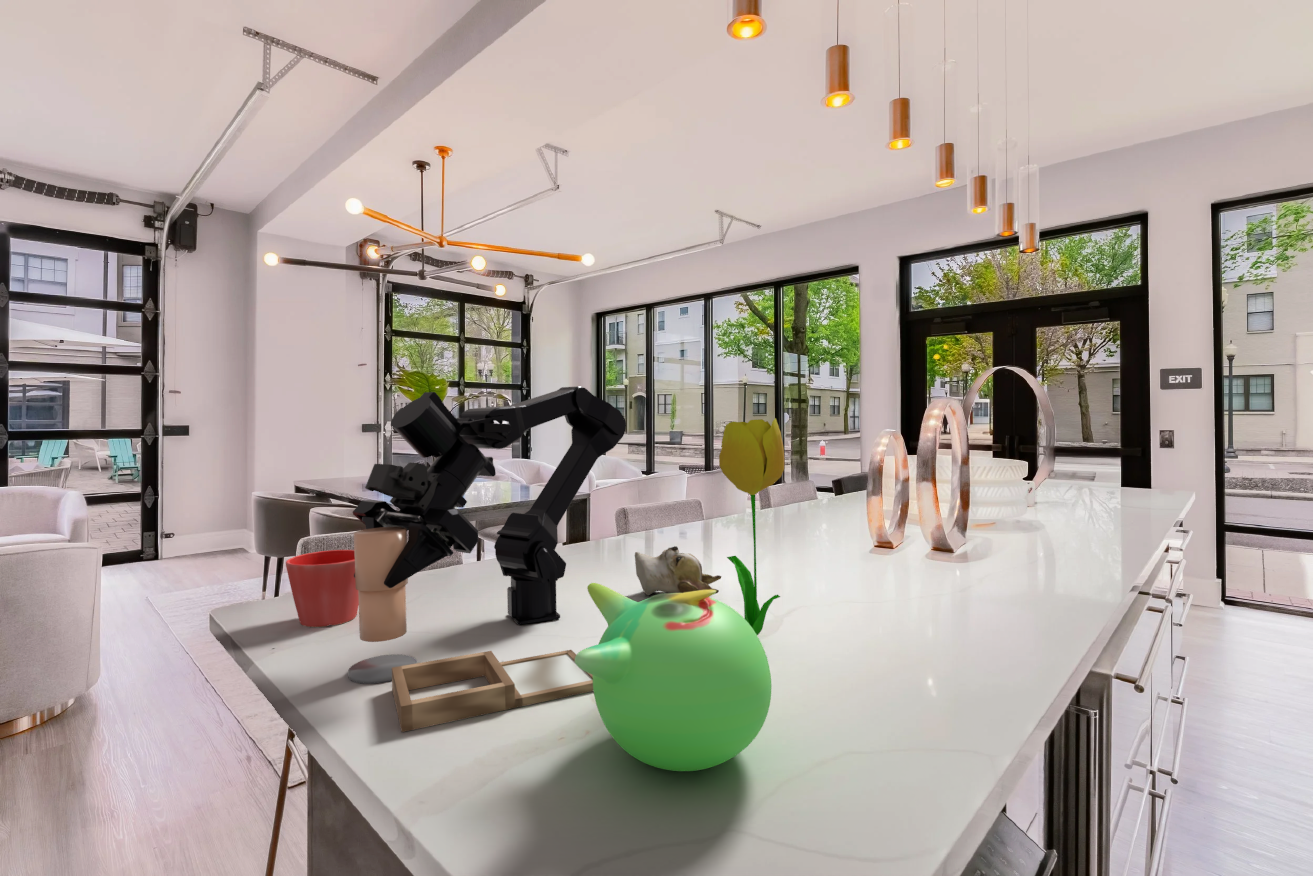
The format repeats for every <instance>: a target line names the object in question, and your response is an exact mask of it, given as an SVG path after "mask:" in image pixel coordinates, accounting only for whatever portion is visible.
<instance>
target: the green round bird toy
mask: <svg viewBox="0 0 1313 876" xmlns="http://www.w3.org/2000/svg"><path fill="white" fill-rule="evenodd" d="M586 588H587V592H588V594H589V596H590V598H591V600H592V601H593V602H594V604H595V606H596V608H597V609H598V610H599V612H600V613H601V615H602V617H603V618H604V619H605V621H606V623H607V625H608V626H607V628H606V629H605V631H604V632H603V634H602V636H601V637H600V640H599V642H598V644H596V645H595V644H594V645H592V646H588V647H586V648H584V649H582V650H580V651H579V652H578V653H576V657H575V663H576V665H577V666H578V667H579V668H580V669H582V670H584V671H586V672H588V673H590V674H592V675H593V690H594V691H593V694H594V700H595V704H596V708H597V711H598V713H599V716H600V718H601V721H602V723H603V725H604V726H605V728H606V730H607V731H608V733H609V734H610V736H611V737H612V739H613V740H614V741H615V742H616V744H618V745H619V747H621V748H622V749H623V750H624V751H625V752H626V753H627V754H629V755H630V756H631V757H633V758H634V759H636V760H638V761H639V762H641V763H643V764H647V765H649V766H651V767H654V768H658V769H662V770H667V771H671V772H672V771H673V772H694V771H700V770H701V771H702V770H706V769H709V768H710V769H711V768H713V767H717V766H719V765H721V764H723V763H726V762H727V761H729V760H731V759H733V758H734V757H736V756H737V755H739V754H740V753H741V752H742V751H744V750H745V749H747V747H749V746H750V744H751V743H753V741H754V740H755V739H756V738H757V736H758V735H759V733H760V732H761V730H762V728H763V726H764V724H765V722H766V720H767V718H768V717H767V716H768V713H769V710H770V705H771V700H772V675H771V670H770V669H771V668H770V664H769V660H768V657H767V654H766V651H765V648H764V646H763V643H762V642H761V640H760V638H759V636H758V635H756V633H755V631H754V630H753V628H752V627H751V626H750V624H749V623H748V622H747V621H746V620H745V618H744V616H742V615H741V614H740V613H739V612H738V611H736V610H735V609H734V608H733V607H731V606H730V605H728V604H726V603H724V602H723V601H720V600H718V599H715V598H713V597H711V596H713V595H715V593H716V592H717V591H716V590H699V591H692V592H685V593H670V594H669V593H667V592H662V593H658V594H655V595H651V596H650V597H648V598H646V599H643V600H640V601H635V600H634V599H631V598H629V597H626V596H625V595H623V594H621V593H619V592H617V591H615V590H613V589H611V588H610V587H608V586H605V585H602V584H600V583H597V582H591V583H589V584H588V585H587V587H586ZM716 594H717V593H716Z"/></svg>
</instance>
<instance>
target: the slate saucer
mask: <svg viewBox="0 0 1313 876" xmlns="http://www.w3.org/2000/svg"><path fill="white" fill-rule="evenodd" d="M416 663H418V660H417V659H416V657H414V656H412V655H408V654H403V653H402V654H398V653H396V654H395V653H394V654H383V655H377V656H373V657H368V658H366V659H362V660H360V661H358V662H356V663H354V664H352V665H351V666H350V667H349V669H348V671H347V678H348V679H349V680H350V681H351V682H354V683H357V684H363V685H364V684H368V685H369V684H370V685H372V684H373V685H374V684H381V683H383V684H384V683H388V682H392V668H393V667H399V666H404V665H410V664H416Z"/></svg>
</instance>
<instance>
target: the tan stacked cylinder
mask: <svg viewBox="0 0 1313 876" xmlns="http://www.w3.org/2000/svg"><path fill="white" fill-rule="evenodd" d="M407 533H408V530H407V529H406V528H402V527H380V528H371V529H366V528H365V529H361V530H357V531H354V532H353V542H354V544H353V547H354V548H353V550H354V553H355V588H356V589H357V590H358V595H359V606H358V620H359V621H358V624H359V639H360V640H361V641H362V642H367V643H368V642H369V643H376V642H377V643H378V642H386V641H390V640H392V641H393V640H395V639H398V638H401V637H403V636H404V635H406V634H407V631H408V630H407V628H408V627H407V595H406V594H407V593H406V592H407V591H406V588H407V587H406V585H408V584H409V578H407V579H406V580H404V581H402V582H401V583H399V584H397V585H396V586H394V587H392V588H388V587H387V586H386V585H384V581H385V579H386V577H387V575H388V573H389V571H390V570H391V568H392V566H393V565H394V563H395V562H396V560H397V558H398V557H399V555H400V554H401V552H402V550H403V549H404V547H405V545H406V544H407V542H408V534H407Z"/></svg>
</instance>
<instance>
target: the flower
mask: <svg viewBox="0 0 1313 876" xmlns="http://www.w3.org/2000/svg"><path fill="white" fill-rule="evenodd" d="M718 458H719V459H718V463H719V464H718V466H719V467H720V470H721V472H722V473H723V475H724V476H725V478H727V480H728V481H730V482H731V484H733V485H734V487H735V488H737V490H739V491H741V492H743V493H746V494H748V495H750V503H751V516H752V519H751V520H752V534H753V535H752V536H753V577H752V573H751V571H750V570H749V569H748V568H747V566H746V565H745V564H744V563H743V561H742V560H741V559H740V558H738V556H736V555H731V556H726V558H727V559H728V560H729V561H730V562H731V563H732V564H733V565H734V567H735V571H736V575H737V580H738V583H739V586H740V589H741V593H742V598H743V611H744V614H743V615H744V616H743V618H744V619H745V620H746V621H747V622H748V623H749V624H750V626H751V627H752V628H753V630H754V631H755V633H756V635H757V636H758V635H759V634H760V633H761V632H762V630H763V627H764V623H765V620H766V615H767V611H768V610H769V607H770V606H771V604H772V603H773V601H774V600H777V599H778V598H781V596H780V595H779V594H775V595H773V596H771V597H770V598H769V599H767V600H766V601H765V602H763V604H762V605H761V608H760V605H759V602H758V599H757V598H758V597H757V596H758V590H757V589H758V587H757V585H758V583H757V580H758V579H757V544H756V543H757V542H756V541H757V540H756V539H757V538H756V534H757V532H756V529H757V528H756V495H757V494H759V492H762V491H764V490H765V489H767V488H769V487H770V486H772V485H774V484H775V483H776V482H777V481H778V480H779V479H781V477H782V475H783V473H784V470H785V460H786V459H785V449H784V444H783V437H782V432H781V430H780V426H779V424H778V420H777V418H776V417H775V418H774V419H773V420H772V421H771V423H769V421H767V420H766V421H765V420H764V419H758V418H757V419H750V420H749V421H748V422H746V421H731V422H729V423H727V424H726V425H725V427H724V431H723V435H722V439H721V450H720V452H719V456H718Z"/></svg>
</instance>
